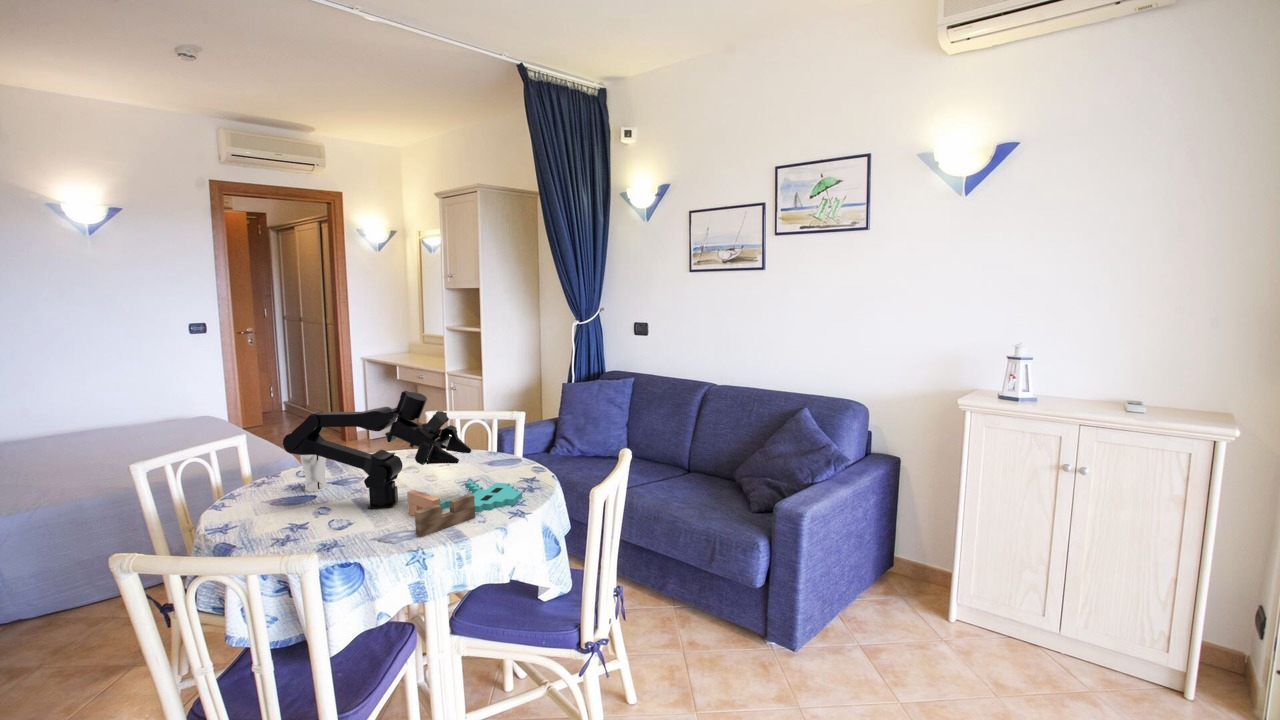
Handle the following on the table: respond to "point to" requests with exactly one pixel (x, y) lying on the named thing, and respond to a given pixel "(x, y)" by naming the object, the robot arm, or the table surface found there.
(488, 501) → the alien figure
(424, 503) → the terracotta u-shaped block
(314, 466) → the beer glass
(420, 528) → the notched wooden block
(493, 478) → the table surface
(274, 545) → the table surface
